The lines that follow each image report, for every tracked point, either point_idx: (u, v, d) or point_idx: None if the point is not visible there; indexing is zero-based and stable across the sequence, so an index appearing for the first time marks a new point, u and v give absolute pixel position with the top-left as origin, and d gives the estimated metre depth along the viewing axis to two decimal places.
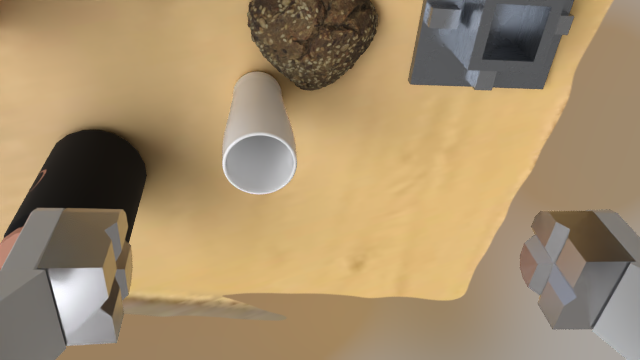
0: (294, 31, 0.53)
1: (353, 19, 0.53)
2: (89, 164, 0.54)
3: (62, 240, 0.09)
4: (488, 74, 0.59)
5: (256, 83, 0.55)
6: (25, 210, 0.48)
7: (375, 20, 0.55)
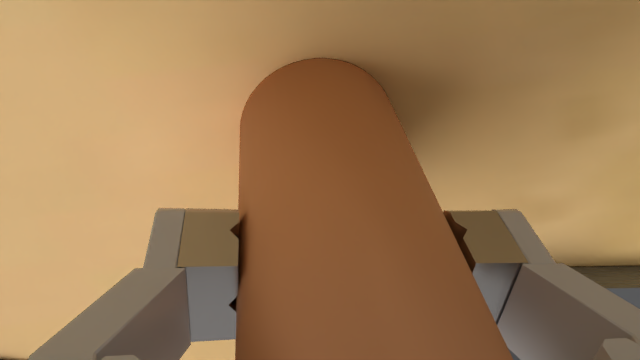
0: None
1: None
2: None
3: (193, 239, 0.09)
4: None
5: None
6: None
7: None
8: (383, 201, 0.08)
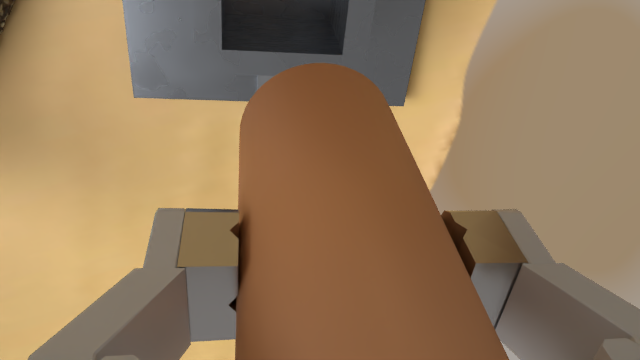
0: None
1: None
2: None
3: (193, 239, 0.09)
4: None
5: None
6: None
7: None
8: (382, 207, 0.08)
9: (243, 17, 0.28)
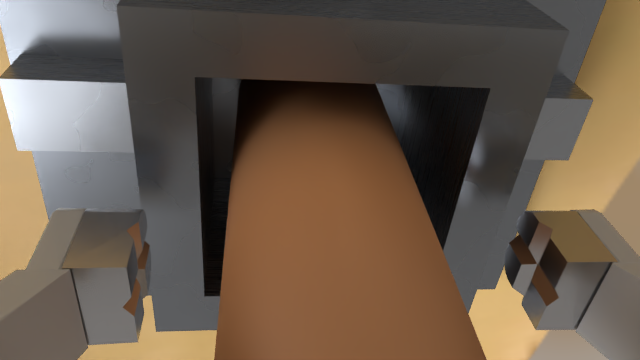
0: None
1: None
2: None
3: (85, 240, 0.09)
4: None
5: None
6: None
7: None
8: (348, 143, 0.10)
9: None
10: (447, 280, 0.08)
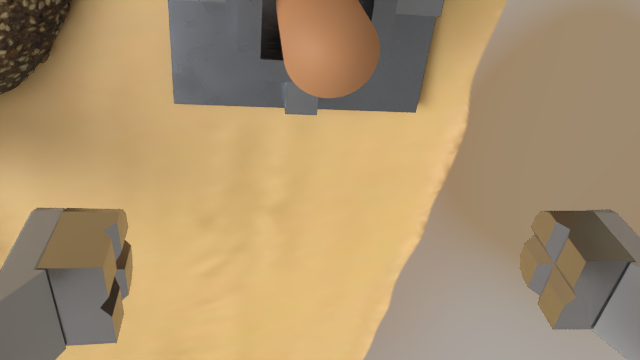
0: None
1: None
2: None
3: (62, 240, 0.09)
4: None
5: None
6: None
7: None
8: None
9: (275, 31, 0.32)
10: (359, 4, 0.23)
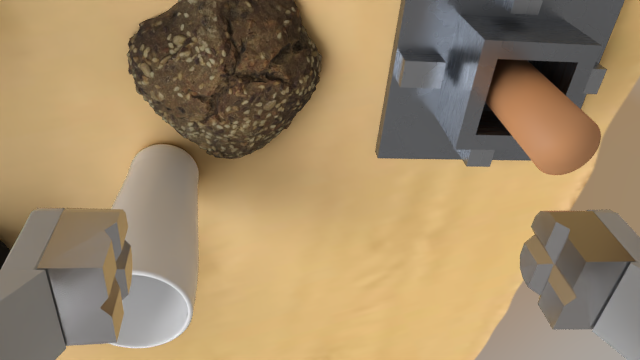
0: (193, 83, 0.36)
1: (280, 64, 0.36)
2: None
3: (62, 240, 0.09)
4: None
5: (153, 167, 0.39)
6: None
7: (316, 64, 0.38)
8: (541, 77, 0.35)
9: None
10: None
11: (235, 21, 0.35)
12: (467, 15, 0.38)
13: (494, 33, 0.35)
